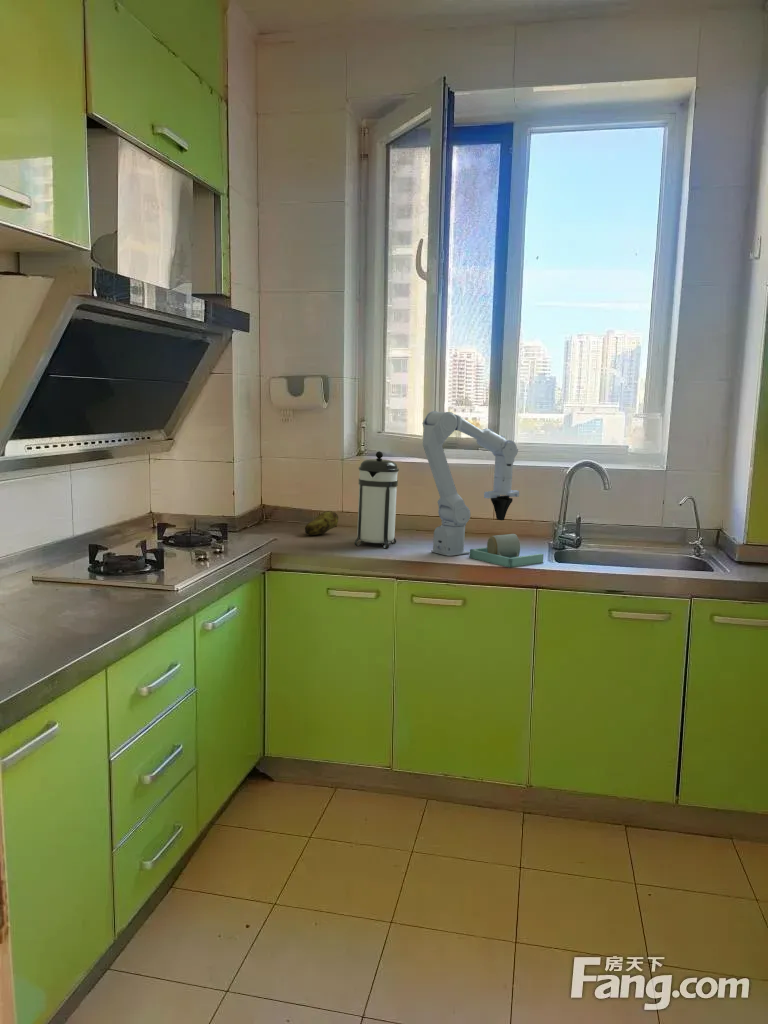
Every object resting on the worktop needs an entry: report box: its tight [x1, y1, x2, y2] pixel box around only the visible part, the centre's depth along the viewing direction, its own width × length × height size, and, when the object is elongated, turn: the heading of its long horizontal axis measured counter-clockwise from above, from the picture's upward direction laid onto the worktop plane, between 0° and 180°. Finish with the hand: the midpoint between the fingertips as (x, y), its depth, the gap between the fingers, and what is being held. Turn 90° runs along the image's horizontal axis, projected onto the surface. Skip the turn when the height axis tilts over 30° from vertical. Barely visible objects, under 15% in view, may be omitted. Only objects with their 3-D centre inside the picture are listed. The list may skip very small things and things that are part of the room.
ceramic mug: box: [486, 533, 521, 558], centre depth 230 cm, size 11×8×8 cm
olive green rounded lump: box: [304, 510, 339, 536], centre depth 261 cm, size 8×13×8 cm, turn 118°
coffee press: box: [354, 450, 400, 549], centre depth 247 cm, size 17×16×30 cm
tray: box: [469, 546, 544, 568], centre depth 232 cm, size 15×16×2 cm
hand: (500, 519), depth 246 cm, fingers closed
